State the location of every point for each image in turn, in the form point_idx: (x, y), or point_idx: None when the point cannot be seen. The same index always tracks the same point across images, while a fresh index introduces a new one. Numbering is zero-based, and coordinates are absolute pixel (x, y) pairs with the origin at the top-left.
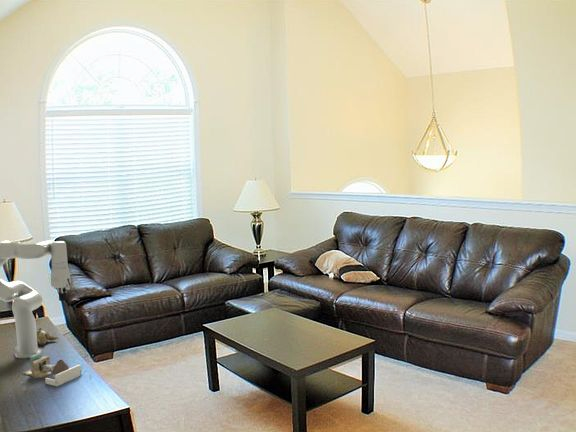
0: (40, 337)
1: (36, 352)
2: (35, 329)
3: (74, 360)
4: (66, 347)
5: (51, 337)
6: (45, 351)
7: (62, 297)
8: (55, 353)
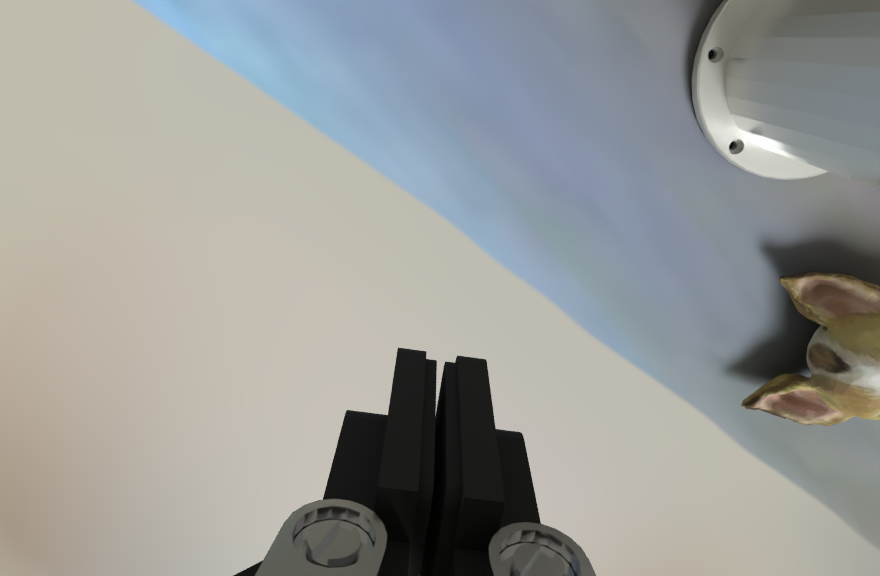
0: (868, 323)
1: (725, 85)
2: (854, 135)
3: (273, 47)
4: (569, 295)
5: (792, 385)
6: (690, 176)
7: (383, 433)
8: (566, 155)
